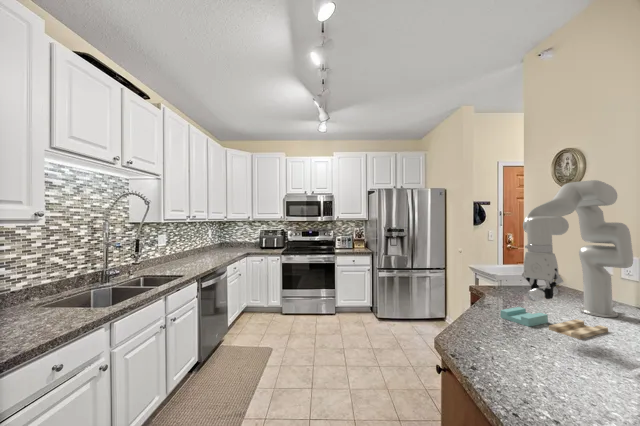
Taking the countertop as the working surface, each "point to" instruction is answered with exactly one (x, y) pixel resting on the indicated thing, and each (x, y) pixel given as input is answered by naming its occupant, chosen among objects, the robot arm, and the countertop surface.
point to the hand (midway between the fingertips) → (542, 296)
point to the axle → (539, 293)
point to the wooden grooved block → (577, 329)
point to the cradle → (524, 316)
